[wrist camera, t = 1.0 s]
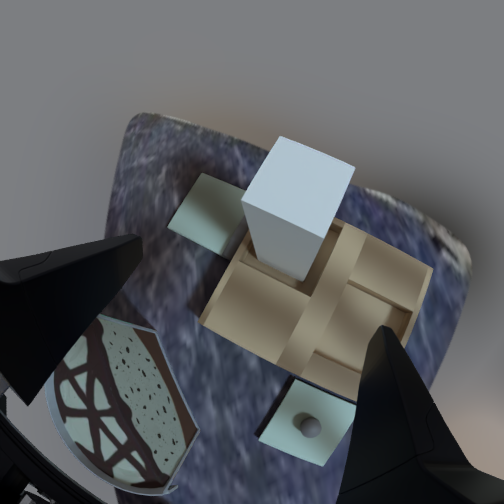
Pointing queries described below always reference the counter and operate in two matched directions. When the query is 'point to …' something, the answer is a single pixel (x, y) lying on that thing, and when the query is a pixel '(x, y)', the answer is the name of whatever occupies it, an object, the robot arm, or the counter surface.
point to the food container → (122, 407)
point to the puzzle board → (303, 312)
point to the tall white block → (294, 205)
